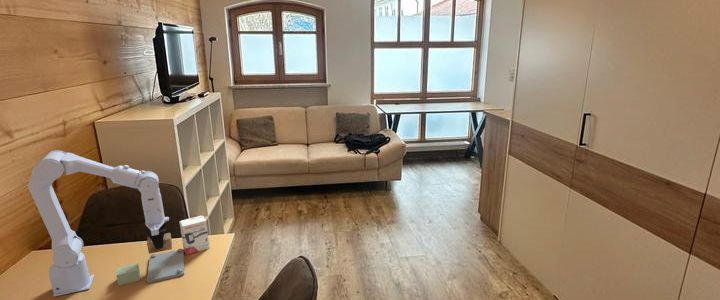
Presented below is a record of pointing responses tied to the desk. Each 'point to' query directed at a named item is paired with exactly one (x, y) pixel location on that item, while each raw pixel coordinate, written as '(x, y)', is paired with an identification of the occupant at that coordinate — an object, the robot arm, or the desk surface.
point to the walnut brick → (166, 244)
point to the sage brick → (128, 274)
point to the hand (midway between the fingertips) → (159, 244)
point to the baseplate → (165, 266)
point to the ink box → (194, 234)
